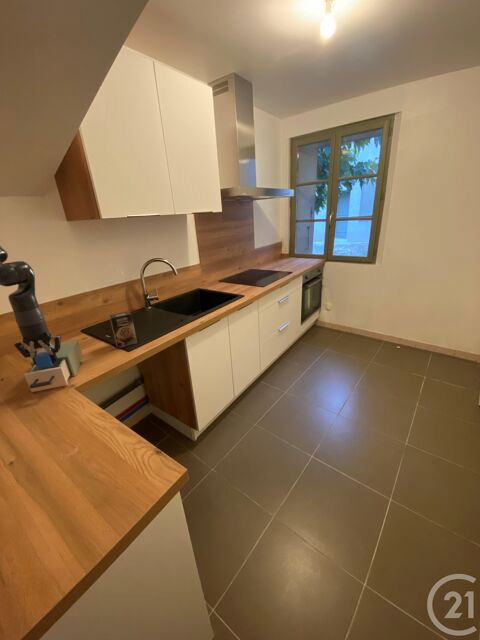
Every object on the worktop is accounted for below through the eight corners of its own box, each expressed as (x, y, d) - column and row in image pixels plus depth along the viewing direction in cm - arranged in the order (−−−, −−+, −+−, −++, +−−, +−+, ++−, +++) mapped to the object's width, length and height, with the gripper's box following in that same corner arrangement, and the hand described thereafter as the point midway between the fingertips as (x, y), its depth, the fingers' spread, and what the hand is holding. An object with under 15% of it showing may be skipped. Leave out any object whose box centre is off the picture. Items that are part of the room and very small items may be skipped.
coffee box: (118, 350, 122) (110, 318, 116) (116, 345, 127) (108, 314, 121) (138, 345, 126) (131, 313, 121) (135, 340, 132) (128, 310, 126)
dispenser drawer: (63, 392, 92) (56, 375, 89) (25, 400, 89) (17, 382, 86) (76, 367, 108) (71, 351, 105) (45, 372, 105) (39, 356, 102)
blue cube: (38, 368, 94) (33, 358, 92) (42, 363, 98) (38, 352, 96) (52, 366, 95) (48, 355, 93) (56, 360, 99) (52, 350, 97)
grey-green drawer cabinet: (75, 376, 103) (68, 356, 100) (38, 383, 100) (30, 362, 97) (83, 359, 116) (77, 340, 113) (51, 364, 113) (44, 346, 110)
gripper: (58, 314, 95) (71, 355, 101) (11, 320, 91) (28, 363, 98) (50, 321, 88) (65, 365, 95) (0, 328, 85) (19, 373, 91)
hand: (46, 363), depth 96 cm, fingers closed on blue cube, 4 cm apart
